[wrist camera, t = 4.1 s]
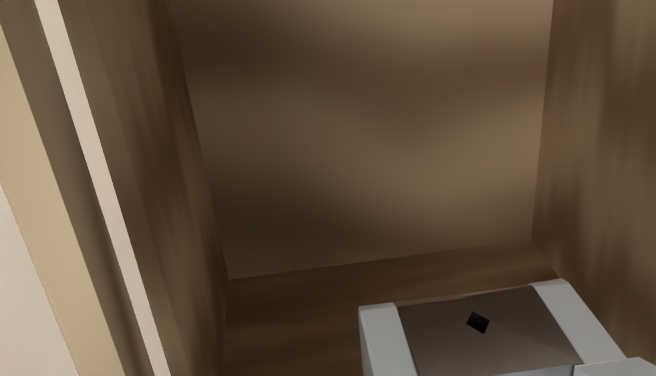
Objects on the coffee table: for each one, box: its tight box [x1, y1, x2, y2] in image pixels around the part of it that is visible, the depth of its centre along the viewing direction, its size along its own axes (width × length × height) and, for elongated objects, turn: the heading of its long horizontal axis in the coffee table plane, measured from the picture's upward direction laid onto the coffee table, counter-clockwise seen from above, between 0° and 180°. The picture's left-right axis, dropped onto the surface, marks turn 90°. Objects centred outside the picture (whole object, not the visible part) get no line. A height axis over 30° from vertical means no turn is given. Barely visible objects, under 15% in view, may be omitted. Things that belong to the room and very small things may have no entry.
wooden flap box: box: [58, 0, 656, 376], centre depth 16 cm, size 19×14×12 cm
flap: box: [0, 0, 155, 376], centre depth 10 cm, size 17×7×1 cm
